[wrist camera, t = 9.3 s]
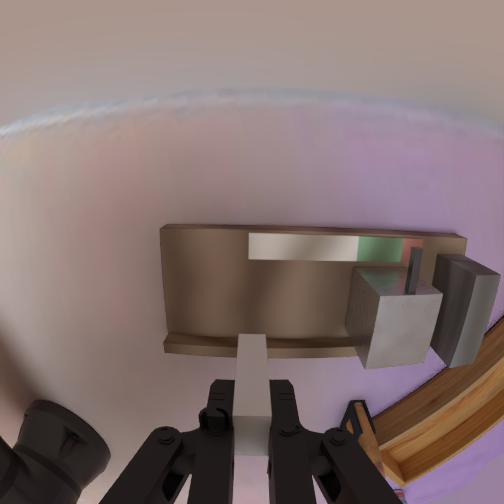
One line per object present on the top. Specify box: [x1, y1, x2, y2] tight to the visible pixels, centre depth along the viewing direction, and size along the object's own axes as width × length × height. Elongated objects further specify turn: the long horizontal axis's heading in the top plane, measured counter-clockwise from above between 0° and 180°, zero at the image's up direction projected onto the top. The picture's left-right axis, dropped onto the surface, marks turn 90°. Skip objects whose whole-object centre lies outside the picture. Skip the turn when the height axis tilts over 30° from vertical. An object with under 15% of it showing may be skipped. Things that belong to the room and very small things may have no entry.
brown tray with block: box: [160, 224, 501, 368], centre depth 22 cm, size 27×11×8 cm, turn 89°
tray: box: [371, 317, 504, 487], centre depth 27 cm, size 31×15×6 cm, turn 128°
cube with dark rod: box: [345, 246, 443, 369], centre depth 21 cm, size 5×9×6 cm, turn 179°
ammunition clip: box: [340, 400, 385, 478], centre depth 25 cm, size 11×2×12 cm, turn 175°
